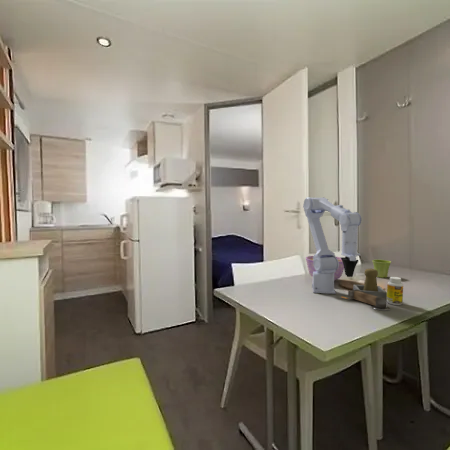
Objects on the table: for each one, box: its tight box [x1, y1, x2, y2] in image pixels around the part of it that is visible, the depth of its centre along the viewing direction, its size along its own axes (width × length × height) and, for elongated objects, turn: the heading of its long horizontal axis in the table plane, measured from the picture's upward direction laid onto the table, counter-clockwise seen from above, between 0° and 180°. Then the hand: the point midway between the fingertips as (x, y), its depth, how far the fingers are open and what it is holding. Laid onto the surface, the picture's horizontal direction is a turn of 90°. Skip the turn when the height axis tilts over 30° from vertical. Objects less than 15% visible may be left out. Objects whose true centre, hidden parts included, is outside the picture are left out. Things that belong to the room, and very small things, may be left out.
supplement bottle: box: [386, 276, 404, 306], centre depth 123 cm, size 6×6×10 cm
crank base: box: [371, 305, 391, 312], centre depth 117 cm, size 6×6×1 cm
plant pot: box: [371, 259, 392, 279], centre depth 171 cm, size 9×9×9 cm
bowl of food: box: [305, 255, 345, 281], centre depth 161 cm, size 20×20×12 cm
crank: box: [347, 289, 388, 309], centre depth 122 cm, size 15×5×3 cm, turn 26°
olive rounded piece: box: [363, 268, 378, 291], centre depth 134 cm, size 6×6×11 cm
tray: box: [352, 284, 387, 299], centre depth 135 cm, size 11×11×3 cm
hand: (348, 275), depth 126 cm, fingers open, 2 cm apart
